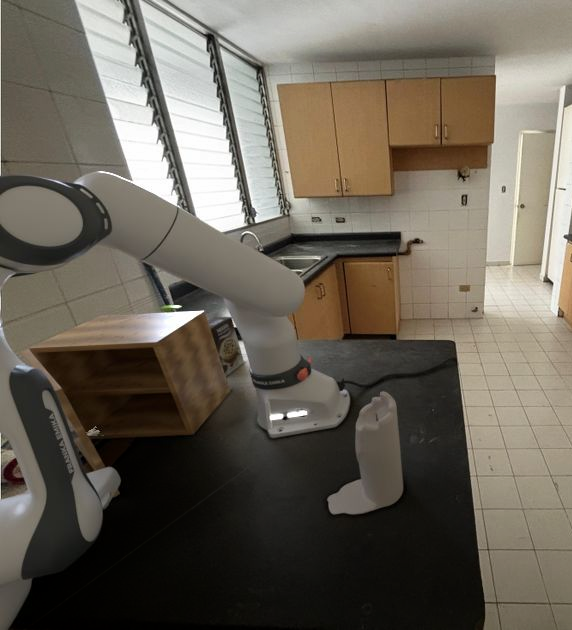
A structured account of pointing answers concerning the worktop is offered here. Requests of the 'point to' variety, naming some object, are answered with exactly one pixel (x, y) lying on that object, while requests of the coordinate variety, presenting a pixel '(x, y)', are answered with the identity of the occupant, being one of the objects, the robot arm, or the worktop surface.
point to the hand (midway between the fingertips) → (58, 473)
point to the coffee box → (226, 343)
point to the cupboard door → (71, 420)
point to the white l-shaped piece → (373, 461)
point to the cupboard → (138, 373)
